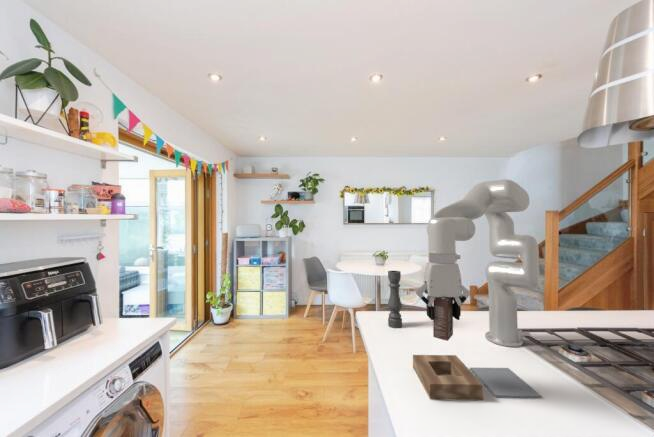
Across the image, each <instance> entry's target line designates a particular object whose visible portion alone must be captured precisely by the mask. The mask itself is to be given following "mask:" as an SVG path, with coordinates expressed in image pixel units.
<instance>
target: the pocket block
mask: <svg viewBox="0 0 654 437" xmlns="http://www.w3.org/2000/svg"><path fill="white" fill-rule="evenodd" d="M412 368H413V370H414V373H415V374H416V375H417V378H418V379H419V382H420V383H421V385H422V387H423V388H424V390H425V393H426V394H427V396H428V397H429V398H428V399H429V400H462V401H463V400H465V401H466V400H467V401H468V400H470V401H471V400H473V401H476V400H477V401H478V400H479V401H482V400H483V401H484V388H483V387H484V386H483V385H484V384H483V383H482V382H481V381H480V380H479V378H478V377H477V376H476V375H475V374H474V373H473V372H472V371H471V370H470V368H468V367H467V366H466V364H465V363H464V362H463V361H462V360H461V359H460V358H459V357H458V356H457V355H456V354H449V355H448V354H412Z"/></svg>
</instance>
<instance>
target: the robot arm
mask: <svg viewBox="0 0 654 437" xmlns="http://www.w3.org/2000/svg"><path fill="white" fill-rule="evenodd" d="M529 206H530V196H529V193H528V192H527V190H526V189H525V188H524V187H523V186H521V185H520V184H518V183H517V182H515V181H513V180H512V179H507V178H505V179H497V180H490V181H483V182H479V183H476V184H475V185H474V186H473V187H471V189H470V190H469V191H468V192H467V194H466V195H465V196H464V197H462V199H459V200H457V201H454V202H453V203H450V204H449V205H445V206H444V207H442V208H440V209H439V210H437V211H436V212H435V213H434V214H433V215H432V216H431V217H430V218H429V220H428V222H427V225H426V233H427V236H428V238H427V240H428V243H427V244H428V247H427V248H428V262H426V263H425V265H424V266H425V267H424V275H423V284H422V285H421V287H419V288H418V289H417V290H416V291H415V294H416V296H418V297H419V299H421V300H422V301H423V303H425V305H426V317H428V318H429V319H430V320H431V321H433V320H434V300H435V298H453V319H455V320H457V321H459V320H460V319H461V318H460V317H461V316H462V315H461V314H462V313H461V307H462V306H463V304H464V302H466V300H467V298H468V297H469V296H470V295H471V294H472V293H471V291H470V290H469V289H468V288H466V287H465V286H464V285H463V281H462V274H461V270H460V265H459V263H457V262H458V260H461V255H460V254H457V253H456V246H457V244H456V242H465V241H469V240H471V239H472V238H473V237H474V236H475V234H476V225H475V223H474V221H473V220H477V219H480V218H481V217H483V216H485V218H486V219H487V222H488V226H489V228H488V229H489V232H488V234H489V252H490V254H491V255H492V256H493V257H496V258H501V259H511V260H520V261H521V262H516V261H515V262H514V261H513V262H512V261H504V260H492V261H490V262H488V263H487V264H486V266H485V270H484V272H485V273H484V274H485V277H486V282H487V290H488V291H487V292H488V323H489V331H487V332H485V334H484V337H485V339H486V340H487V341H489V342H491V343H494V344H496V345H499V346H502V347H503V346H504V347H508V348H509V347H510V348H511V347H512V348H513V347H515V348H517V347H522V344H524V341H523V339H522V338H526V337H525V336H530V337H529V338H531V336H532V335H531V332H530V331H524V330H522V329H518V327H519V326H518V325H519V324H518V298H517V295H516V293H515V291H514V290H513V289H512V287H513V288H518V289H519V288H520V289H525V290H526V289H527V290H534V289H536V288H537V287H538V286H539V282H540V263H539V262H540V257H539V255H540V254H539V250H540V249H539V244H538V241H537V239H536V238H535V237H534V236H532V235H530V234H529V235H528V234H516V233H515V222H514V220H513V218H512V217H511V216H510V215H509V214H508V213H520V212H523V211H524V212H525V211H526V210H527V209H528V208H529ZM423 293H424V294H426V295H427V296H425V295H424V294H423Z"/></svg>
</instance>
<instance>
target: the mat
mask: <svg viewBox="0 0 654 437" xmlns="http://www.w3.org/2000/svg"><path fill="white" fill-rule="evenodd" d="M469 370H470V371H471V372H472V373H473V375H474V376H475V377H476V378H477V379H478V380H479V381H480V382H481V383H482V384H483V385H484V386H485V387H486V389H488V391H489V392H491V394H492V395H493V396H494V398H496V399H497V398H502V399H503V398H505V399H511V398H512V399H542V397H543V396H542V395H541V394H540V393H539V392H538V391H537V390H535V389H534V388H533V387H532V386H530V385H529V384H528V383H527V382H526V381H524V379H522V378H521V377H520V376H519V375H517V374H516V373H515V372H514V371H513V370H511V368H509V367H470V368H469Z"/></svg>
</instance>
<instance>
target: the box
mask: <svg viewBox="0 0 654 437" xmlns="http://www.w3.org/2000/svg"><path fill="white" fill-rule="evenodd" d="M453 303H454V301H453V298H435V300H434V302H433V307H434V320H432V322H433V324H432V326H433V327H432V328H433V338H436V339H439V340H442V341H446V342H448V341H449V340H450V339H451V338H452V336H453V335H454V317H453Z"/></svg>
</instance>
